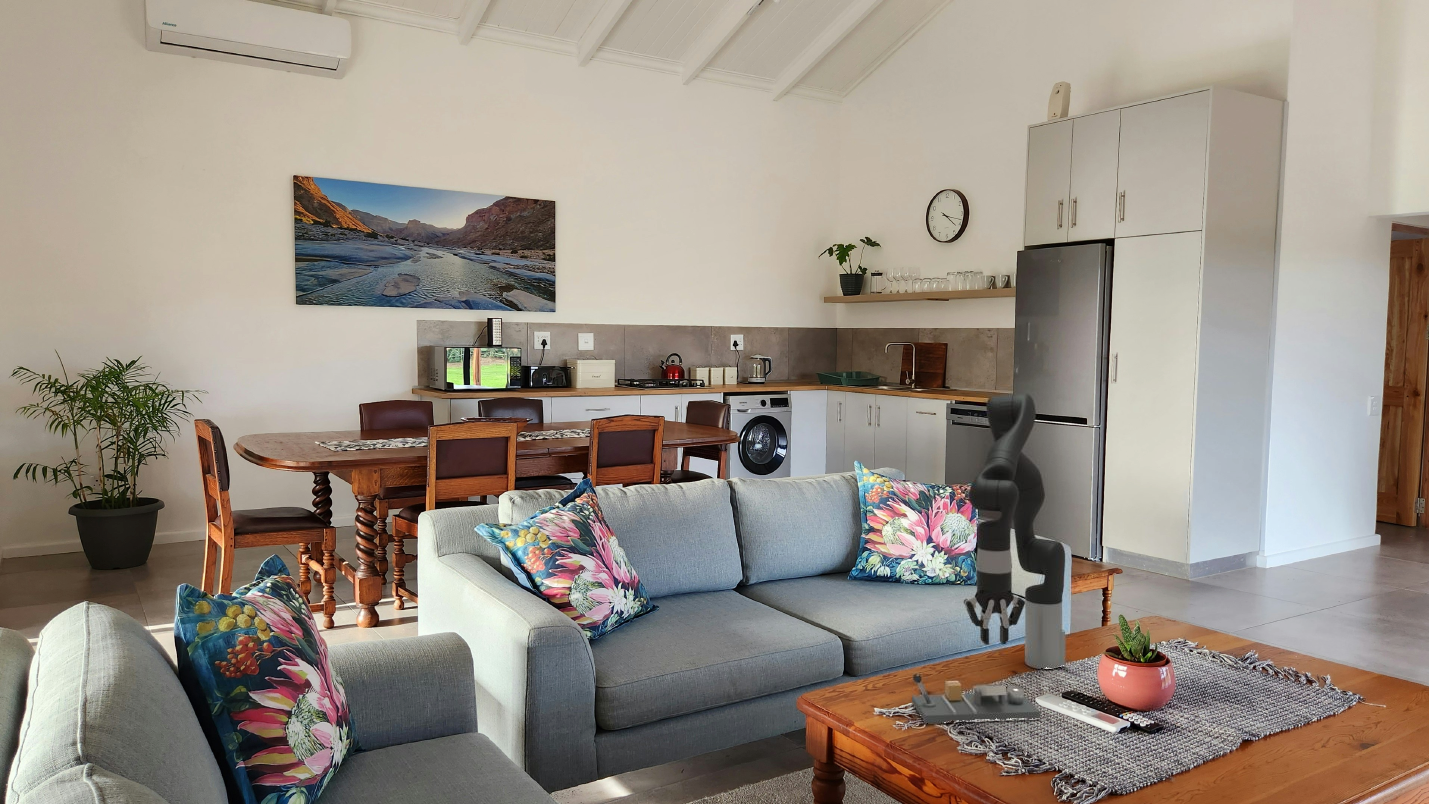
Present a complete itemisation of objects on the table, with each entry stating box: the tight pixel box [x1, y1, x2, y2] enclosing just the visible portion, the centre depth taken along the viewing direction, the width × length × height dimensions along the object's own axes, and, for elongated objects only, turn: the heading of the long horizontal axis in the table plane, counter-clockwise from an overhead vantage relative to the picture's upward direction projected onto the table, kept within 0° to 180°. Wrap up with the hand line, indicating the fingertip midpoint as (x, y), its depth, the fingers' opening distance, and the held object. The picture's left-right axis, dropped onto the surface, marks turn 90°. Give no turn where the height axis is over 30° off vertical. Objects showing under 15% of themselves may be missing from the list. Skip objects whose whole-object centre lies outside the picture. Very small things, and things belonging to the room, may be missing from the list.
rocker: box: [972, 683, 1007, 695], centre depth 216 cm, size 4×10×2 cm, turn 2°
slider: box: [944, 680, 963, 701], centre depth 219 cm, size 3×3×4 cm
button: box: [1006, 684, 1024, 704], centre depth 217 cm, size 4×4×3 cm
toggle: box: [912, 673, 931, 704], centre depth 216 cm, size 2×2×8 cm
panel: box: [911, 688, 1041, 725], centre depth 216 cm, size 26×12×5 cm, turn 92°
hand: (994, 642), depth 212 cm, fingers open, 3 cm apart
